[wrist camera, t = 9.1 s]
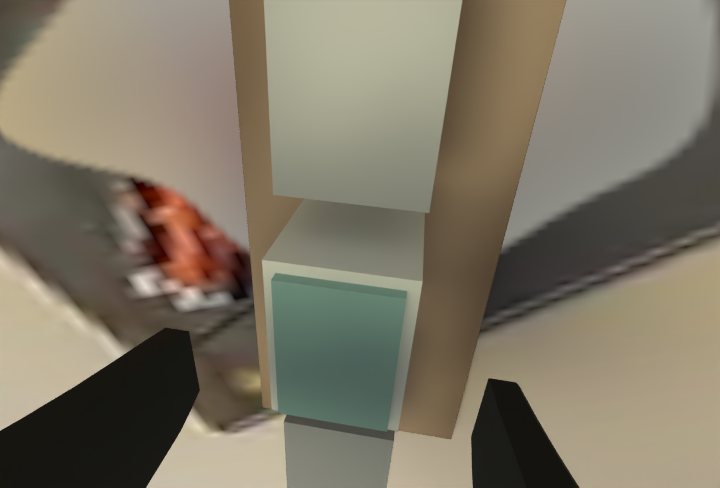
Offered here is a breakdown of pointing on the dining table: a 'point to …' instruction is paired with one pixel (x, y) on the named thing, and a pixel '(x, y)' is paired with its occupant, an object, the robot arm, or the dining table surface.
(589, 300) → the dining table surface
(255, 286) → the board
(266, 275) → the block
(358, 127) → the block
